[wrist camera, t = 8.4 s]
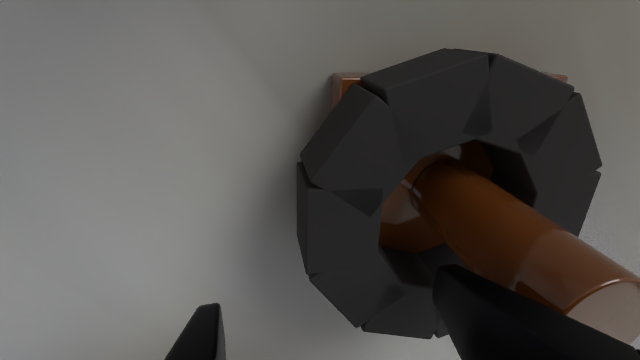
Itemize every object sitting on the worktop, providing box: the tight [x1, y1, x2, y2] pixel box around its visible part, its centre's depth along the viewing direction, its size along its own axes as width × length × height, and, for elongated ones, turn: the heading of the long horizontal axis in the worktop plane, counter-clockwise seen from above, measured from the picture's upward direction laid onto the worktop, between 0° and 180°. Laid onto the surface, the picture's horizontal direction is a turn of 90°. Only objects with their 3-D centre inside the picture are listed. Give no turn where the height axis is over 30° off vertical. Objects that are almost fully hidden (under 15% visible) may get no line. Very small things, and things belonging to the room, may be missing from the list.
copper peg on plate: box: [331, 72, 640, 345], centre depth 11 cm, size 8×8×8 cm
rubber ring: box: [297, 48, 602, 339], centre depth 12 cm, size 9×10×2 cm
